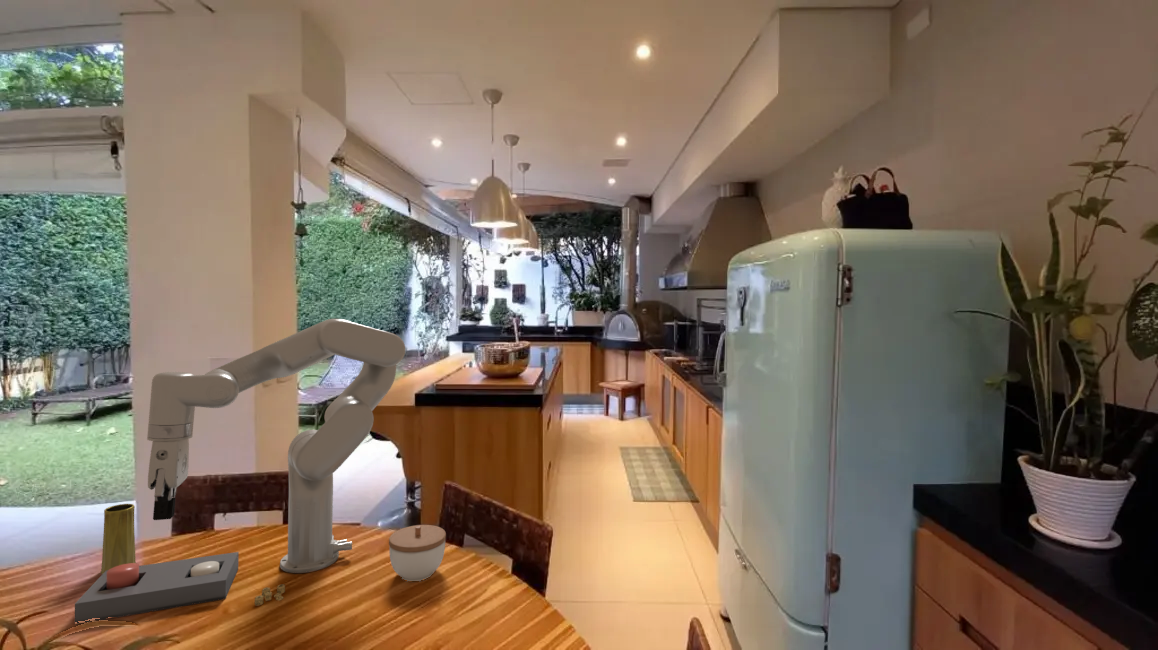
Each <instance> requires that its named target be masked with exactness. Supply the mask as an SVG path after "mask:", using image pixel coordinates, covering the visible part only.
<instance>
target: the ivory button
mask: <svg viewBox="0 0 1158 650" xmlns="http://www.w3.org/2000/svg"><path fill="white" fill-rule="evenodd" d="M215 573H219V562H217V561H208V562H203V563H200V564H197V565H195V566H193V567H192V568H191V577H195V576H202V575H208V574H215Z"/></svg>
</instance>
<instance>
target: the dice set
mask: <svg viewBox="0 0 1158 650" xmlns="http://www.w3.org/2000/svg"><path fill="white" fill-rule="evenodd" d="M276 589H277V592H276V593H275V594H274V595H273V592H272V591H271V587H263V588H262V590H261V593H262V594H261V595H256V596H255V597H254V606H261V605H263V604H264V600H265V602H268V601H271V600H272V596H273V598H275V601H278V602H280V601H282V600H284V596H282V594H284V593H286V584H282V583H281V584H279V585H276Z"/></svg>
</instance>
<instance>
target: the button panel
mask: <svg viewBox="0 0 1158 650" xmlns="http://www.w3.org/2000/svg"><path fill="white" fill-rule="evenodd" d="M239 554H240V552H239V551H234V552H230V553H229V552H228V553H227V552H226V553H221V554H220V553H219V554H214V555H208V556H207V555H206V556H200V557H199V556H198V557H191V558H186V559H178V560H171V561H164V562H157V563H151V564H150V563H149V564H143V565H139V582H138V583H137V584H135V585H133V586H130V587H123V588H117V589H110V590H107V589H106V587H107V571H108V570H106V571H105V572H104V573H103V574H102V573H101V575H100V577H99V578H97V579H96V581H95V582H94V583H93V584H91V586H90V587H89V588H88V590H86V591H85V592H84V593H83V594H82V595H81V596H80V598H79V599H78V600H77V601H76V602H75V603H74V623H75V622H77V623H79V622H78V621H85V620H88V619H92V618H100V619H95V620H100V621H104V620H107V619H106V618H108V617H117V618H123V617H127V616H133V615H139V614H144V613H151V612H150V611H152V612H158V611H162V610H169V609H174V608H182V607H186V606H193V605H198V604H203V603H209V602H216V601H222V600H227V597H228V594H229V592H230V590H231V587H232V584H233V582H234V580H235V578H236V575H237V573H238V570H239ZM208 561H217V562H219V573H215V574H208V575H202V576H195V577H191V568H192V567H193V566H195V565H197V564H200V563H203V562H208ZM89 621H90V620H89ZM89 621H85V622H88V623H90V622H89Z"/></svg>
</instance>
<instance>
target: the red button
mask: <svg viewBox="0 0 1158 650" xmlns="http://www.w3.org/2000/svg"><path fill="white" fill-rule="evenodd" d="M139 566H140V564H139V563H137V562H136V563H128V564H123V565H119V566H116V567H113V568H111V569H109V570H108V571H107V587H106V589H107V590H110V589H117V588H123V587H130V586H133V585H135V584H137V583H138V582H139Z"/></svg>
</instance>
